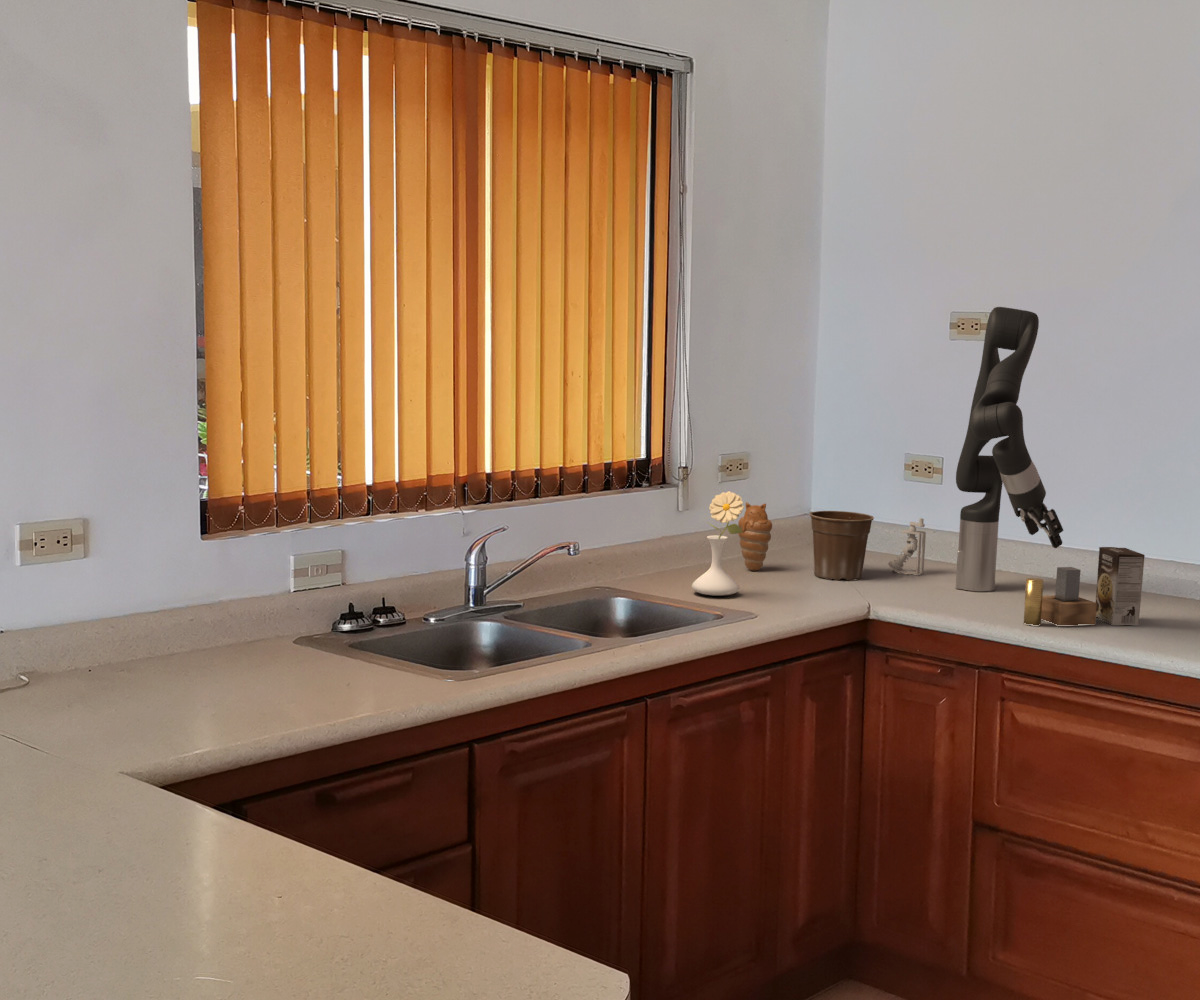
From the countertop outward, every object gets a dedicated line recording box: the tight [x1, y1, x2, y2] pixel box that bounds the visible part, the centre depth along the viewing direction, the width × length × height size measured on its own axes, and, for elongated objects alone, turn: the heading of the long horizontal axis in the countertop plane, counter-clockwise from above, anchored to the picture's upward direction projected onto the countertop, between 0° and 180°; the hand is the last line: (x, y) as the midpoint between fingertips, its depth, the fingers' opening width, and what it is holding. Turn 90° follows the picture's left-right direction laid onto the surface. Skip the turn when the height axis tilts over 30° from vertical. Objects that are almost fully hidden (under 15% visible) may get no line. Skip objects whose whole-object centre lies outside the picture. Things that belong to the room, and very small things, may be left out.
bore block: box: [1041, 595, 1097, 625], centre depth 292 cm, size 9×9×5 cm
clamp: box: [887, 517, 927, 576], centre depth 347 cm, size 4×10×15 cm, turn 54°
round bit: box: [1023, 577, 1044, 625], centre depth 288 cm, size 4×4×10 cm
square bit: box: [1054, 566, 1081, 602], centre depth 291 cm, size 4×4×12 cm
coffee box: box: [1095, 546, 1146, 626], centre depth 293 cm, size 9×6×16 cm
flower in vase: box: [691, 490, 745, 597], centre depth 311 cm, size 13×11×25 cm
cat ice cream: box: [737, 502, 773, 572], centre depth 344 cm, size 9×8×18 cm
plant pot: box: [809, 510, 875, 581], centre depth 339 cm, size 16×16×16 cm
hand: (1046, 539), depth 291 cm, fingers open, 8 cm apart
